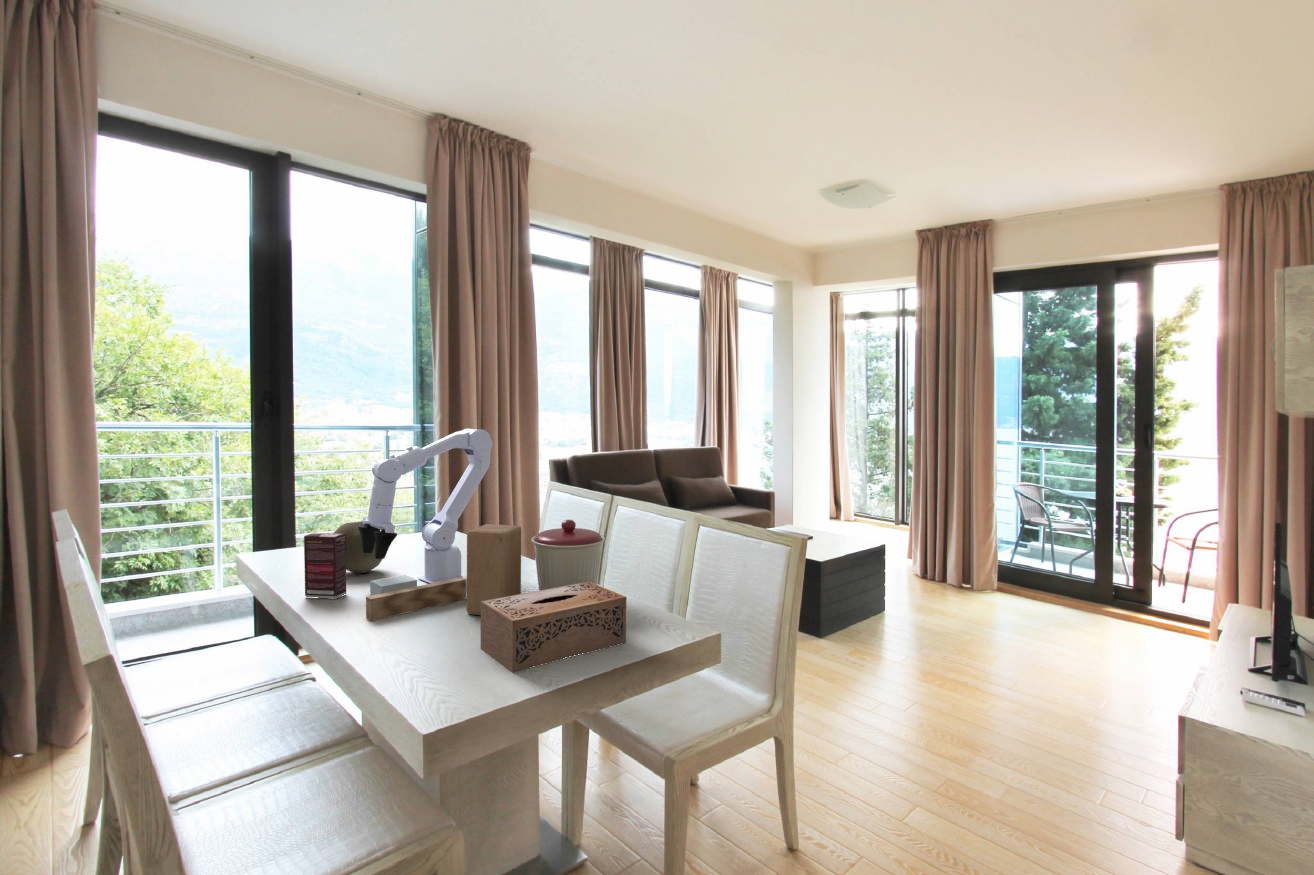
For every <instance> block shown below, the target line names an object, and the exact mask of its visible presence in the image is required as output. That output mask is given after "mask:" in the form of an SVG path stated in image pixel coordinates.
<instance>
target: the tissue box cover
mask: <svg viewBox="0 0 1314 875" xmlns="http://www.w3.org/2000/svg"><path fill="white" fill-rule="evenodd" d="M621 643H623V644H626V643H627V596H625V595H623V594H620V593H618V592H616V591H613V590H611V589H609V588H605V587H604V586H601V585H598V583H597V584H594V583H592V582H584V583H578V584H573V585H568V586H562V587H557V588H551V589H546V590H540V591H539V590H536V591H535V590H534V591H531V592H524V593H521V594H519V595H513V596H508V597H502V598H497V599H491V600H486V601H481V615H480V649H481V651H483V652H484V653H485V654H487V655H488V656H490V657H491V658H492V659H493V660H494V661H496V662H497V663H499V664H500V665H501V666H503V667H504V668H505V669H507V670H508V671H509V672H510V673H511V674H512V673H516V672H519V671H524V670H528V669H531V668H530V667H532V668H534V667H533V666H536V667H539V666H538V665H540V666H542V665H541V664H544V665H546V664H545V663H547V664H550V663H549V662H551V663H553V662H552V661H555V662H557V661H556V660H559V661H561V660H560V659H563V658H565V657H569V656H574V655H578V654H582V653H585V654H588V653H587V652H589V653H592V651H593V652H596V651H595V650H597V651H600V650H599V649H601V650H603V648H604V649H608V648H611V647H610V646H612V647H615V646H614V645H616V646H619V645H618V644H620V645H622V644H621ZM582 655H583V654H582ZM578 656H579V655H578ZM574 657H575V656H574ZM563 660H564V659H563Z"/></svg>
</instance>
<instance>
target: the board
mask: <svg viewBox="0 0 1314 875" xmlns="http://www.w3.org/2000/svg"><path fill="white" fill-rule="evenodd" d="M462 600H463V601H464V600H467V578H456V579H451V580H446V581H441V582H436V583H431V584H430V583H427V584H422V585H417V587H412V588H407V589H402V590H397V591H392V592H387V593H382V594H378V595H373V596H370V595H368V596H366V597H365V619H366V620H368V621H370V622H373V621H377V620H382V619H385V618H386V619H387V618H390V617H394V616H398V615H402V614H407V613H411V612H415V611H419V610H423V609H425V610H426V609H428V608H433V607H437V606H441V605H447V604H450V603H454V602H458V601H462Z"/></svg>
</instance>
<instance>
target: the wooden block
mask: <svg viewBox="0 0 1314 875" xmlns="http://www.w3.org/2000/svg"><path fill="white" fill-rule="evenodd" d="M519 594H522V527H521V526H519V525H514V524H513V525H511V524H495V523H492V524H491V523H486V524H483V525H480V526H478V527H475V528H473V529H470V530H468V531H467V533H466V612H467V613H466V614H468V615H473V616H474V615H475V616H481V601H486V600H491V599H497V598H502V597H508V596H513V595H519Z"/></svg>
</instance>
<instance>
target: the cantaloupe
mask: <svg viewBox="0 0 1314 875" xmlns="http://www.w3.org/2000/svg"><path fill="white" fill-rule="evenodd" d="M364 525H365V524H363V520H361V521H354V522H345V523H344V524H342V525H340V526H339V527H338V528H336V529H335V531H334V532H333V533H338V534H346V571H348V572H352V573H355V574H365V573H368V572H370V571H372V570H373V569H375V568H377V567H378V566H379V565H380V564H381V562H382V561H383V559H376V558H375V547H376V544H374V548H373V551H372V553H363V549H362V539H361V534H360V531H359V529H358V526H364Z"/></svg>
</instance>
